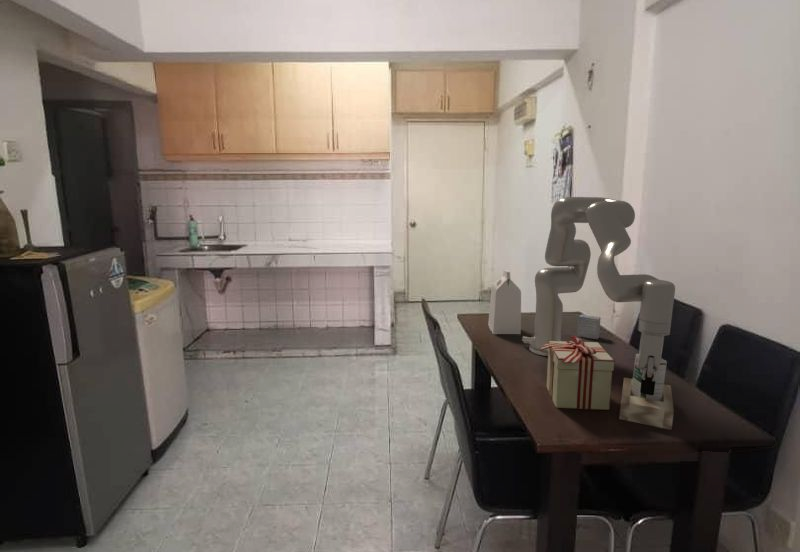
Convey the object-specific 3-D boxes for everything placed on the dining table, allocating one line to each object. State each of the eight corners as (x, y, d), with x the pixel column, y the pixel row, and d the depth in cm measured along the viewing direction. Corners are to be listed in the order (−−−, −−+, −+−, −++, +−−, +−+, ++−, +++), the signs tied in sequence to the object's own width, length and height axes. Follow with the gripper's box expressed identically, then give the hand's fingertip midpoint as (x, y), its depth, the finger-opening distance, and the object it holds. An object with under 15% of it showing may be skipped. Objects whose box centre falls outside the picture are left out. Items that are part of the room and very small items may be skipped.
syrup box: (628, 401, 130) (634, 353, 128) (648, 401, 131) (654, 352, 128) (640, 411, 125) (646, 360, 122) (661, 410, 125) (668, 360, 123)
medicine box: (599, 337, 191) (601, 316, 190) (597, 340, 188) (599, 319, 186) (579, 333, 195) (580, 314, 194) (576, 336, 192) (578, 316, 190)
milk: (520, 334, 193) (524, 273, 189) (493, 334, 194) (496, 273, 189) (514, 326, 205) (517, 268, 200) (488, 326, 205) (490, 268, 201)
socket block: (619, 418, 123) (621, 401, 122) (622, 393, 138) (623, 377, 138) (671, 429, 117) (673, 411, 116) (668, 401, 133) (670, 385, 132)
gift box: (532, 386, 143) (535, 332, 140) (592, 387, 142) (597, 333, 139) (547, 412, 126) (552, 352, 123) (616, 414, 126) (622, 353, 122)
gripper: (638, 316, 133) (632, 374, 136) (637, 333, 118) (630, 397, 121) (668, 320, 129) (661, 379, 133) (671, 337, 114) (663, 403, 118)
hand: (646, 387), depth 127 cm, fingers closed on syrup box, 7 cm apart
